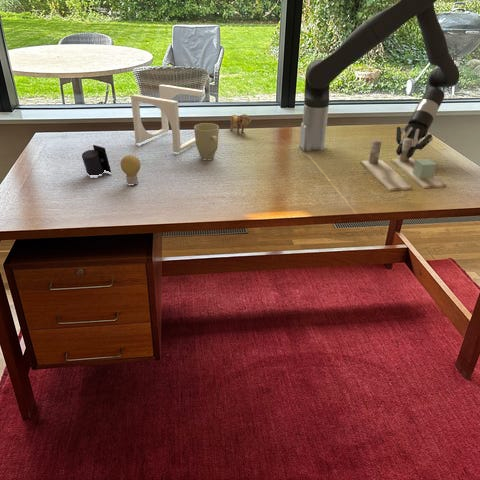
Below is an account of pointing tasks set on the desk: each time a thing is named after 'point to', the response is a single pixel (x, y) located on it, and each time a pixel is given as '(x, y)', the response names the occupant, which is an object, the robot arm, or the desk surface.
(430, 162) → the sage block
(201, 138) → the mug
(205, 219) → the desk surface
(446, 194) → the desk surface
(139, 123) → the cream frame stand
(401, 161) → the block strip
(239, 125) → the lion figurine
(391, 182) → the empty strip
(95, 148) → the speaker
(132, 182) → the light bulb
